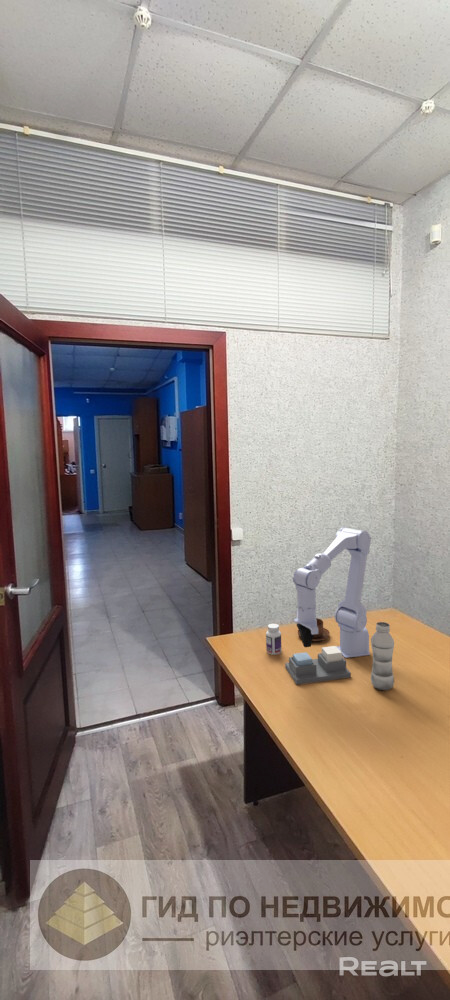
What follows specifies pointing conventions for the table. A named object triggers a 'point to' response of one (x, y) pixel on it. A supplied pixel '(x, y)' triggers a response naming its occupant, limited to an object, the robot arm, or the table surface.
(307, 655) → the blue key
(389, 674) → the plastic bottle
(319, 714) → the table surface
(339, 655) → the white key
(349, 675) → the key panel
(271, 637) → the pill bottle
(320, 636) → the cup and saucer
